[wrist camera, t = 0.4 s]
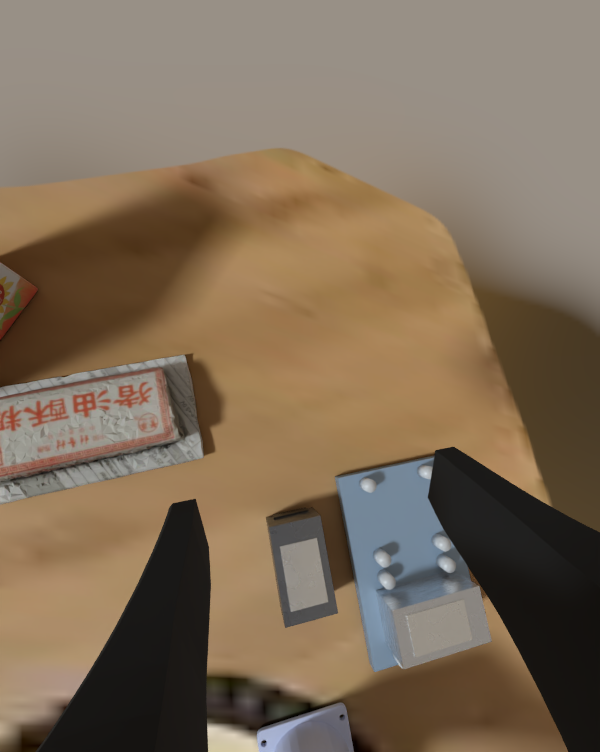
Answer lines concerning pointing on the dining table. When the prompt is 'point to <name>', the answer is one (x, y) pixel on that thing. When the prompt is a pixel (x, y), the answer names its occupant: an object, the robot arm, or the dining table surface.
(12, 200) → the dining table surface
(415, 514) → the drive tray
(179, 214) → the dining table surface
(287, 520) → the loose drive
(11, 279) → the cracker box
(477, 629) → the seated drive
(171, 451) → the packaged product
